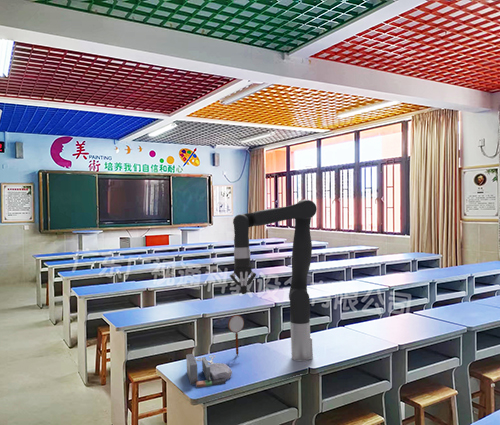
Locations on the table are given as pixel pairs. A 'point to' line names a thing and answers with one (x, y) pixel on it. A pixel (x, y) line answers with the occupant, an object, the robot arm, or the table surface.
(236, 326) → the magnifying glass
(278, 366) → the table surface
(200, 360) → the scissors
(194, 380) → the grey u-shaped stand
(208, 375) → the thin grey slab
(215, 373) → the stone block
